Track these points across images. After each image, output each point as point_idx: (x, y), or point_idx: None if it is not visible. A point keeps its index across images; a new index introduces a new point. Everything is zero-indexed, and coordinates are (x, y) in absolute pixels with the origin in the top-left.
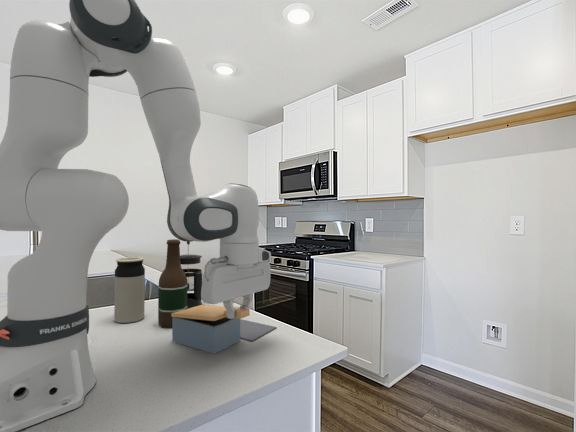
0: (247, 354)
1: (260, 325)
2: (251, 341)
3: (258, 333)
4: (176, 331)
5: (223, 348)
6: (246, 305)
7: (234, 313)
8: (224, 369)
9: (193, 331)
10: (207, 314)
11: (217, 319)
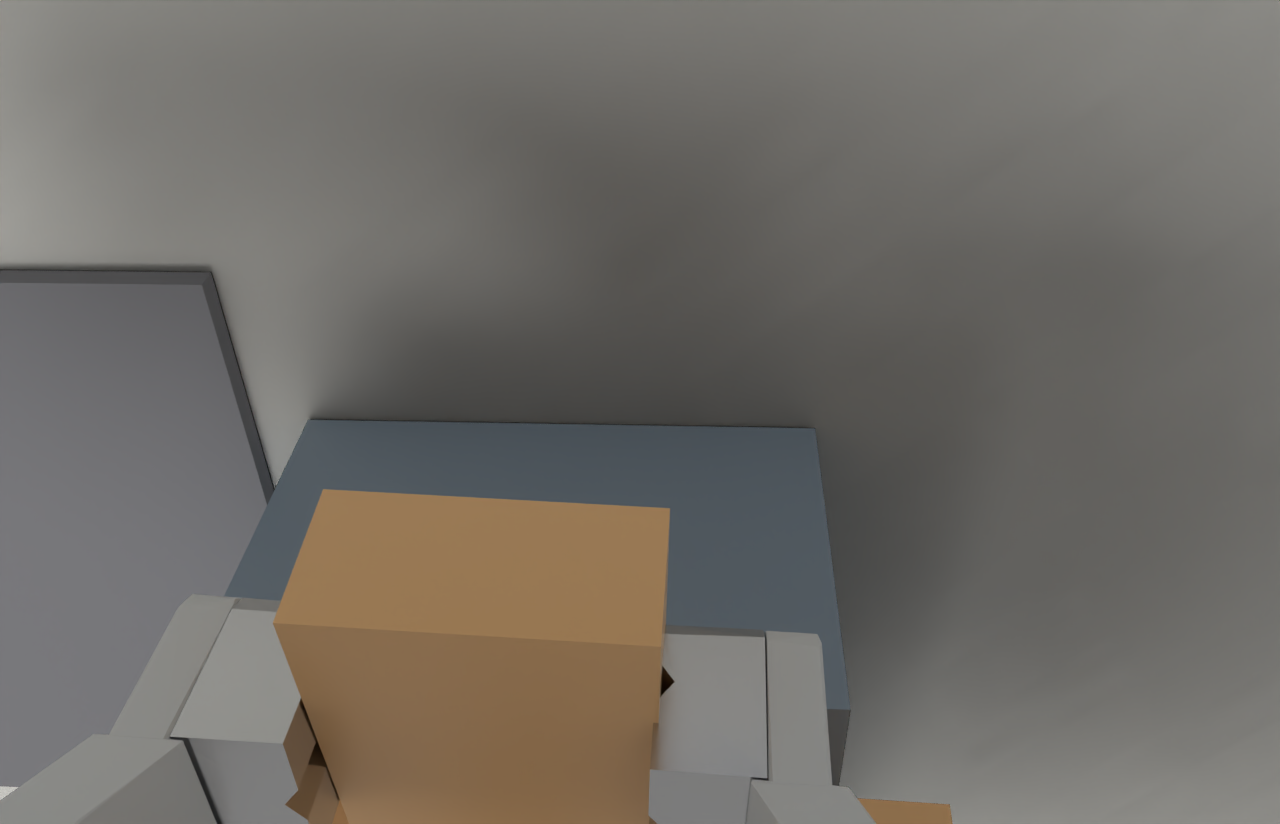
0: (582, 73)
1: None
2: (212, 289)
3: None
4: None
5: (649, 434)
6: (191, 779)
7: (760, 713)
8: (1162, 51)
9: None
10: None
11: (875, 806)
